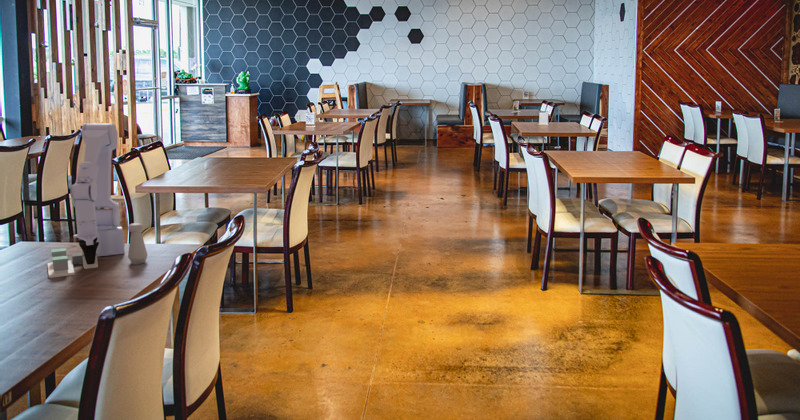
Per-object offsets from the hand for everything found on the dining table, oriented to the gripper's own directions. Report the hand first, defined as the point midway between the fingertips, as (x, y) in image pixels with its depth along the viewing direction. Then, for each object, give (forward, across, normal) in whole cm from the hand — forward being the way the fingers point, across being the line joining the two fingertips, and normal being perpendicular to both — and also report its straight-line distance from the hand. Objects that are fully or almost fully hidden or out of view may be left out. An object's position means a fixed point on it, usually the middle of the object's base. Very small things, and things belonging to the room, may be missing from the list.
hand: (90, 262), depth 214 cm
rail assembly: (+1, 0, -8) cm, 9 cm away
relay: (+2, -6, -2) cm, 7 cm away
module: (+1, 0, 0) cm, 1 cm away
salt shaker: (+2, +2, +14) cm, 14 cm away
